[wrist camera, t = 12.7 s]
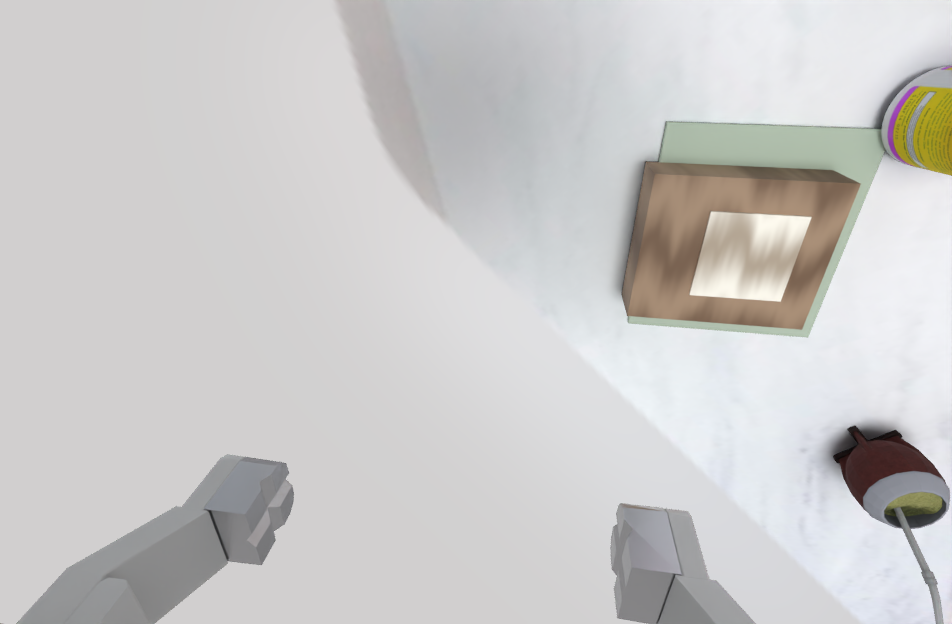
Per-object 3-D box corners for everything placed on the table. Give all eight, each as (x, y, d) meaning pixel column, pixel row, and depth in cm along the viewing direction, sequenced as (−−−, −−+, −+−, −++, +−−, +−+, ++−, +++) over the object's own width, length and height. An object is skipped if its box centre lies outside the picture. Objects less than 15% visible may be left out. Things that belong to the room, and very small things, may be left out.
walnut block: (655, 174, 36) (862, 184, 34) (645, 161, 39) (832, 169, 38) (627, 317, 42) (803, 330, 40) (621, 294, 45) (782, 306, 44)
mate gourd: (886, 408, 48) (1009, 546, 35) (921, 456, 50) (1049, 602, 37) (809, 441, 51) (896, 579, 38) (845, 485, 53) (939, 630, 40)
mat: (666, 121, 38) (667, 122, 38) (889, 129, 36) (893, 130, 36) (627, 320, 47) (628, 323, 47) (805, 334, 45) (807, 337, 45)
